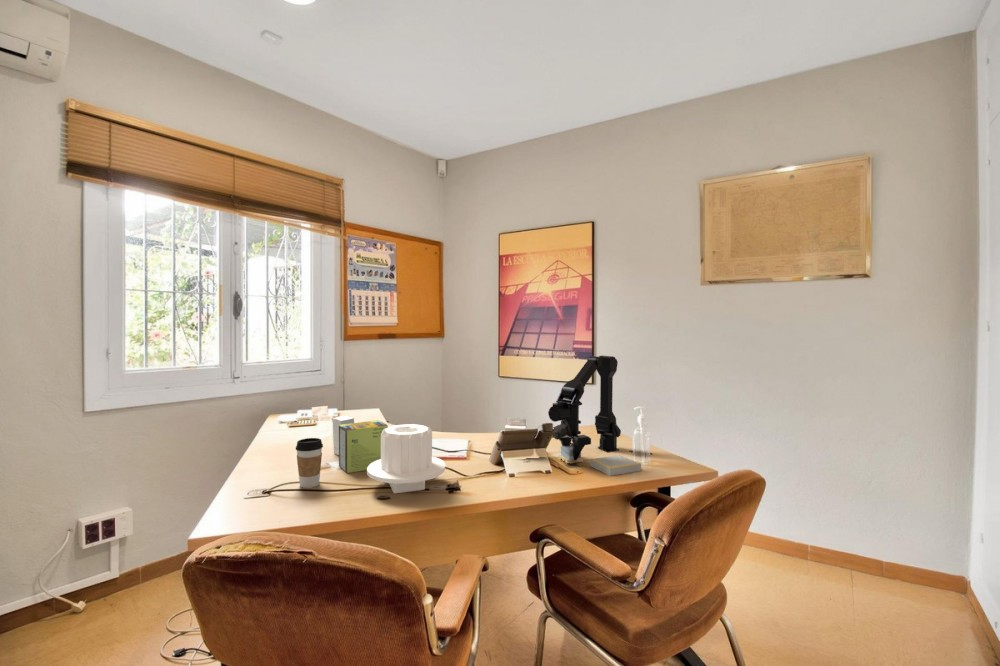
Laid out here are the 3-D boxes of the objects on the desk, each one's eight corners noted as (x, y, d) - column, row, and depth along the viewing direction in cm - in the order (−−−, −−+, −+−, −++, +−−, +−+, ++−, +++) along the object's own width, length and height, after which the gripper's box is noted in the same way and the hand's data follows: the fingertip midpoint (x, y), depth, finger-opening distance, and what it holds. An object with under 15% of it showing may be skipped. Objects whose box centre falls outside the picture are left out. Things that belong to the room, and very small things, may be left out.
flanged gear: (363, 478, 160) (363, 423, 159) (434, 470, 169) (435, 418, 168) (372, 506, 137) (371, 442, 136) (454, 494, 146) (454, 435, 145)
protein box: (388, 466, 173) (388, 424, 173) (346, 473, 165) (346, 430, 164) (378, 458, 182) (378, 419, 181) (338, 465, 173) (338, 424, 173)
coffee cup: (296, 491, 148) (296, 444, 147) (294, 482, 155) (294, 438, 155) (324, 486, 152) (324, 441, 151) (321, 478, 159) (321, 435, 159)
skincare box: (355, 455, 187) (355, 418, 186) (341, 458, 182) (341, 420, 182) (346, 450, 193) (346, 414, 192) (332, 453, 188) (331, 416, 188)
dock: (619, 461, 181) (619, 454, 181) (641, 470, 170) (641, 463, 170) (589, 465, 175) (590, 458, 175) (609, 475, 164) (610, 468, 164)
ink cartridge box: (504, 456, 186) (504, 420, 185) (505, 453, 191) (505, 417, 190) (525, 457, 185) (525, 420, 185) (526, 453, 190) (526, 418, 190)
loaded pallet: (574, 457, 184) (574, 444, 184) (582, 461, 179) (582, 448, 179) (558, 459, 181) (559, 446, 181) (567, 463, 176) (567, 450, 176)
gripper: (541, 414, 185) (540, 453, 185) (566, 424, 168) (566, 467, 168) (564, 412, 189) (564, 450, 190) (592, 422, 172) (591, 463, 173)
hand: (570, 457), depth 180 cm, fingers closed on loaded pallet, 6 cm apart
